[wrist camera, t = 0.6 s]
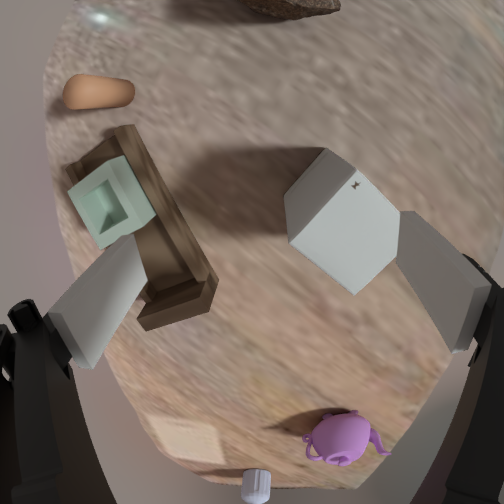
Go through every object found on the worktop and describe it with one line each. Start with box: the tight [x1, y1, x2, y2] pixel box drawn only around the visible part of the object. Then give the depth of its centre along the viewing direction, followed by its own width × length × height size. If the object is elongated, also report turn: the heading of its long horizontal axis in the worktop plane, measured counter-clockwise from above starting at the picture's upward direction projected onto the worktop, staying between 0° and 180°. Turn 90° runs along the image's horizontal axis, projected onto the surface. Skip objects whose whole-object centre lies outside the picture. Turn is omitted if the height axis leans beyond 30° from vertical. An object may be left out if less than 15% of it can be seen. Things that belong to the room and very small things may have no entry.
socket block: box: [67, 155, 157, 250], centre depth 35 cm, size 9×8×6 cm
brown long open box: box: [66, 124, 219, 331], centre depth 38 cm, size 26×11×8 cm, turn 25°
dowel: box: [63, 74, 135, 110], centre depth 29 cm, size 4×4×11 cm
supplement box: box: [283, 148, 400, 295], centre depth 31 cm, size 9×9×15 cm
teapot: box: [302, 410, 391, 466], centre depth 55 cm, size 20×14×12 cm
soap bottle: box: [241, 469, 271, 504], centre depth 67 cm, size 9×9×25 cm
